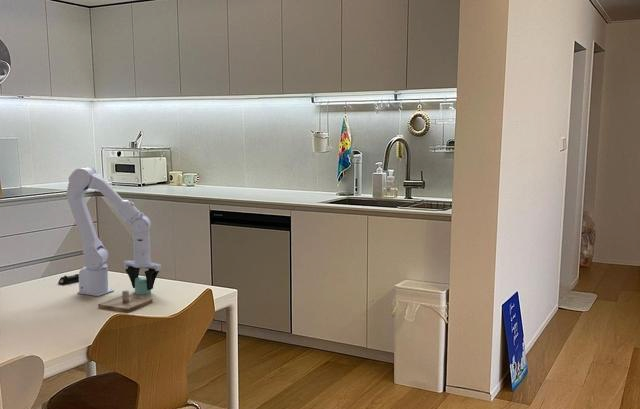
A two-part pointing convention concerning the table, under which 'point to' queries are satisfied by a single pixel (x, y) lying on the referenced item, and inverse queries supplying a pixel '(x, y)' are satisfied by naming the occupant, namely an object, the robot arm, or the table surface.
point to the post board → (125, 303)
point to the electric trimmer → (68, 279)
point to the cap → (141, 286)
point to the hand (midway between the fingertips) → (142, 288)
